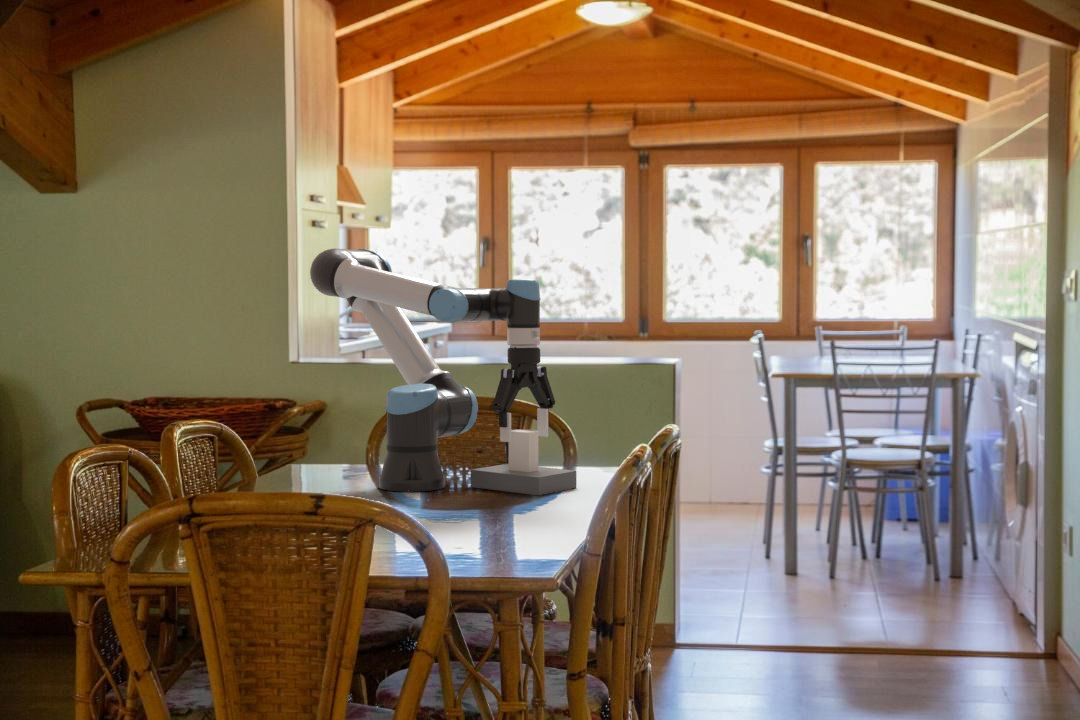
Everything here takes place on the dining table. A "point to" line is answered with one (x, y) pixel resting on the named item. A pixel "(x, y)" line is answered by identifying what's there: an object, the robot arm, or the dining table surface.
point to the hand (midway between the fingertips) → (524, 439)
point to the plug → (523, 451)
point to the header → (523, 480)
